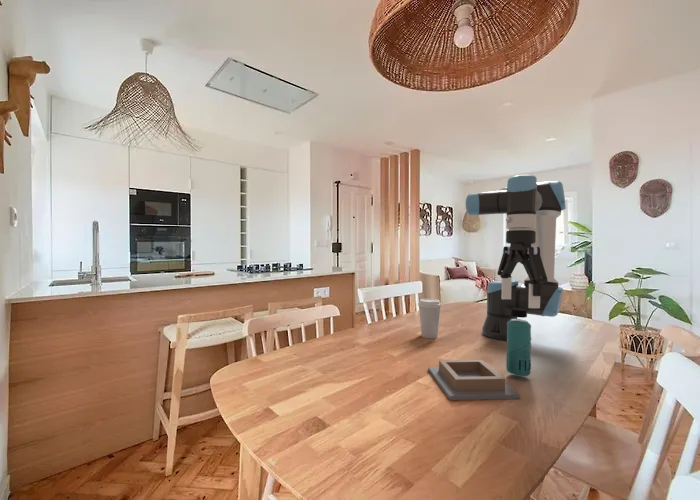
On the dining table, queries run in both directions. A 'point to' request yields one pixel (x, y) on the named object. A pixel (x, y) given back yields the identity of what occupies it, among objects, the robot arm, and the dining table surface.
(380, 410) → the dining table surface
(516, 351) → the beverage bottle
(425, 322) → the coffee cup
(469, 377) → the bottle stand
